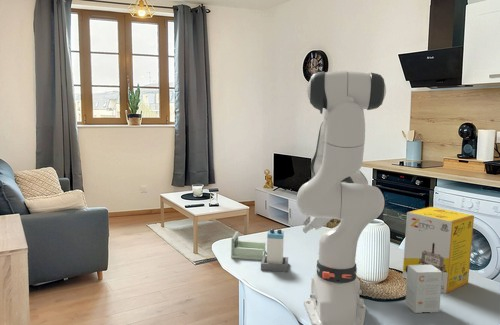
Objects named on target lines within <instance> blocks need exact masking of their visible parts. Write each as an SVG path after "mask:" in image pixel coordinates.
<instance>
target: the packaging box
mask: <svg viewBox="0 0 500 325" xmlns="http://www.w3.org/2000/svg"><path fill="white" fill-rule="evenodd" d="M474 221H475V215H473V214H469V213H463V212H458V211H453V210H450V209H449V210H448V209H445V208H439V207H434V206H427V207H423V208H420V209H414V210H411V211H407V212H406V222H405V224H406V225H405V237H404V239H405V240H404V253H403V266H402V268H403V269H402V279H404V278H406V279H405V280H407V269H408V265H433V266H434V267H436V268H437V269H439V270H440V271H441V272H442V281H441V293H442V292H443V293H442V294H445V293H446V294H448V293H450V292H452V291H455V290H456V289H458V288H460V287H463V286H464V285H467V284H468V283H469V276H470V267H471V265H470V264H471V253H472V242H473V231H474Z"/></svg>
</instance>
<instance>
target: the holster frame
mask: <svg viewBox="0 0 500 325" xmlns="http://www.w3.org/2000/svg"><path fill="white" fill-rule="evenodd" d="M288 265H289V257H288V256H283V264H274V263H267V255H264V256H263V258H262V260H261V262H260V271H271V272H272V271H273V272H285V273H286V272H288V267H289V266H288Z"/></svg>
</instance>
